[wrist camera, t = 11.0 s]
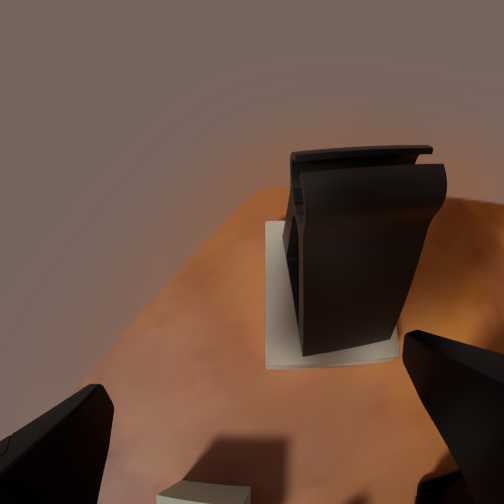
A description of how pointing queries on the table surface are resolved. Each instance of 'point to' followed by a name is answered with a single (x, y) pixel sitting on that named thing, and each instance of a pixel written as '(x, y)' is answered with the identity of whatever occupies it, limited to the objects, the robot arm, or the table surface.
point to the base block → (285, 324)
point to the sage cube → (204, 494)
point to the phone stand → (356, 239)
